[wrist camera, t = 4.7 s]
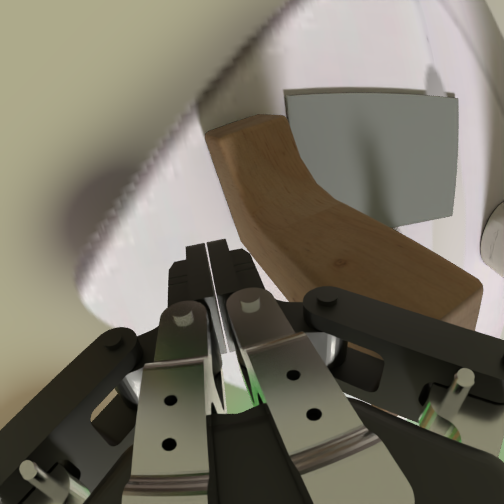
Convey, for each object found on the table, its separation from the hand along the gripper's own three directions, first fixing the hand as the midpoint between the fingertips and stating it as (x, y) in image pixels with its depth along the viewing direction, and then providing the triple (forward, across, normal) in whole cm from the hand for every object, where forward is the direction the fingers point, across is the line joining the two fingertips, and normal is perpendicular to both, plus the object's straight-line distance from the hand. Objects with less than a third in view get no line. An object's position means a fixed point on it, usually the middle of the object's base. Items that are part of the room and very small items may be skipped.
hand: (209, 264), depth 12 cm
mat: (+12, -16, +1) cm, 20 cm away
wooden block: (+12, -4, 0) cm, 13 cm away
